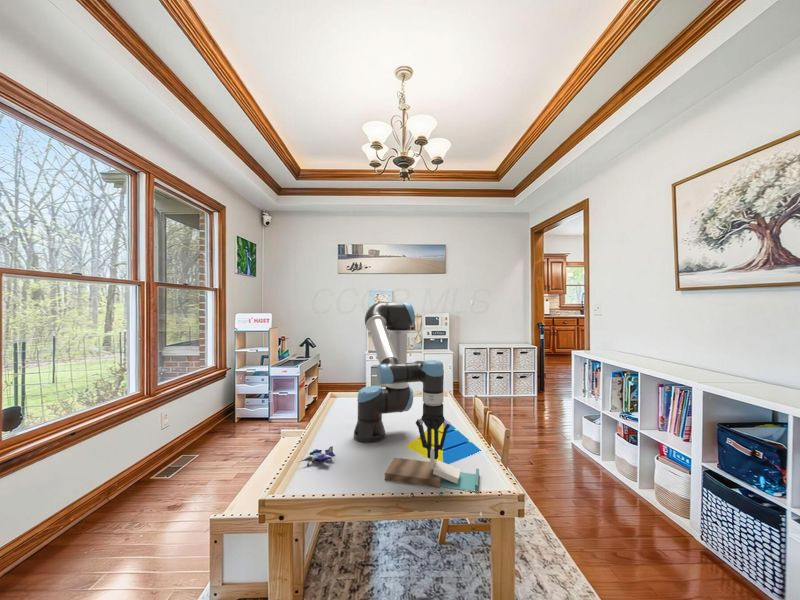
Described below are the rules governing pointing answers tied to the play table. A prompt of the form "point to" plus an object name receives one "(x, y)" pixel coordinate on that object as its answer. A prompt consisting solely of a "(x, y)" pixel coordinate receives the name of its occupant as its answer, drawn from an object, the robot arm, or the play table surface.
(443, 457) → the pyramid toy
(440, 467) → the tile
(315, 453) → the toy airplane
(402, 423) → the play table surface
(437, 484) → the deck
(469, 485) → the mat
